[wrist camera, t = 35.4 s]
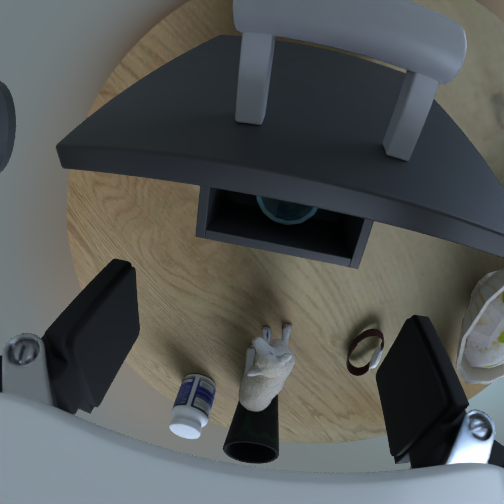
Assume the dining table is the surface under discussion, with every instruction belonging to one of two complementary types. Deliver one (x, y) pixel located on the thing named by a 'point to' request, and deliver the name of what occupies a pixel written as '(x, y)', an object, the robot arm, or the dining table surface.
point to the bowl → (483, 332)
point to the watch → (375, 356)
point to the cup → (254, 434)
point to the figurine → (266, 369)
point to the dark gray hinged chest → (281, 229)
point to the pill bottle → (192, 406)
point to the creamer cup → (285, 210)
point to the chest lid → (310, 119)
